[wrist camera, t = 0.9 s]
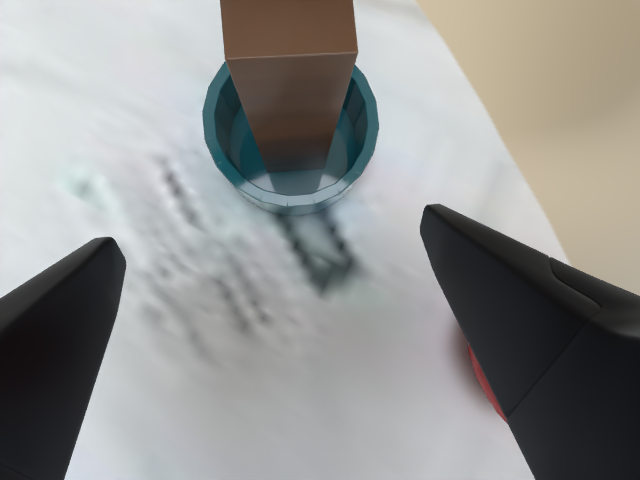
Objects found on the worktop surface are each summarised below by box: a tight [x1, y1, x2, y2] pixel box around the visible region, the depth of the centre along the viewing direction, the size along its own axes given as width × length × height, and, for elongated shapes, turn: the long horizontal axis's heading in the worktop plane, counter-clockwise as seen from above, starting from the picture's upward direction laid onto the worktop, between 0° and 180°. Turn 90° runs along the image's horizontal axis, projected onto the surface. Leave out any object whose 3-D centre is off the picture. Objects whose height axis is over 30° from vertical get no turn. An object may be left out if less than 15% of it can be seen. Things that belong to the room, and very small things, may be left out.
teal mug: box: [202, 61, 379, 216], centre depth 21 cm, size 13×10×4 cm
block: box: [220, 0, 358, 173], centre depth 16 cm, size 4×4×13 cm
